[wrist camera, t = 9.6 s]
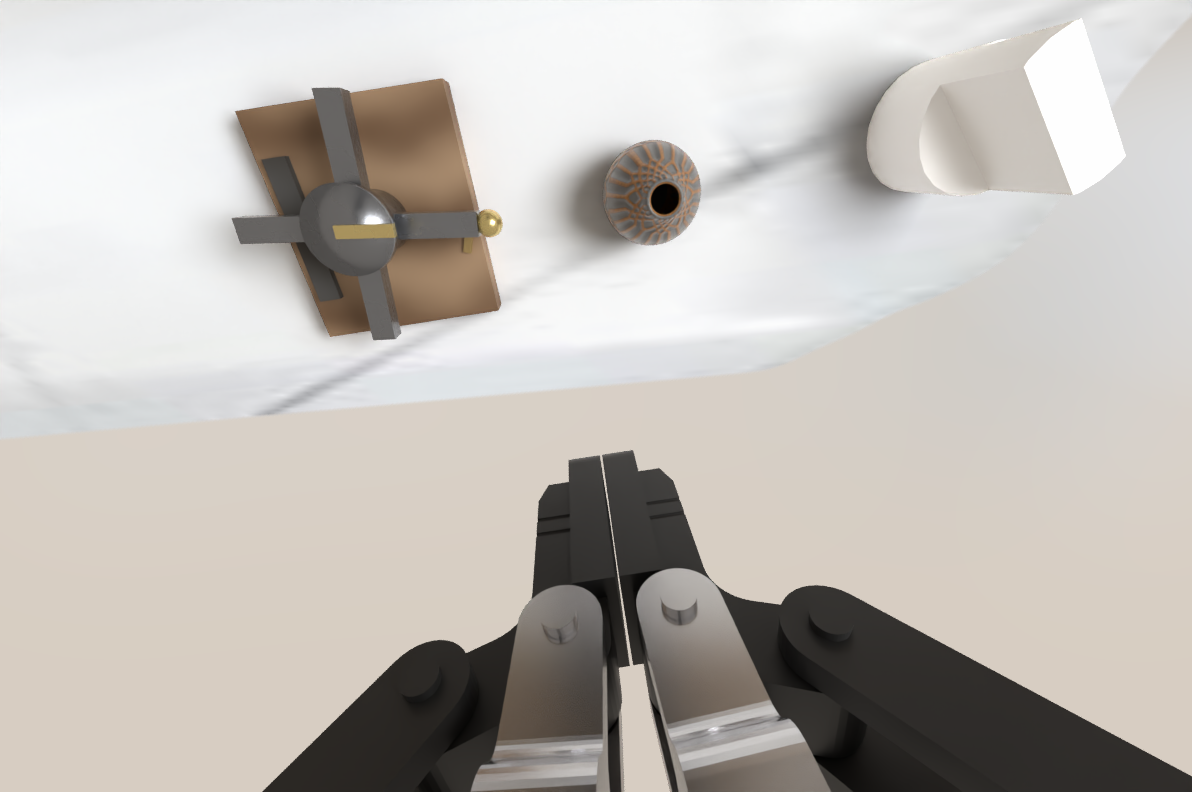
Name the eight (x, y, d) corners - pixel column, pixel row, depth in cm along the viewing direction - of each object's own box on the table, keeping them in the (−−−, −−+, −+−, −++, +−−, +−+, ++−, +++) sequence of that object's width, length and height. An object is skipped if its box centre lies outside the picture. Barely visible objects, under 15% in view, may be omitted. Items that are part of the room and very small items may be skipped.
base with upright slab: (1000, 132, 37) (1182, 118, 26) (897, 216, 39) (1025, 235, 28) (954, 26, 33) (1141, -40, 23) (845, 125, 36) (968, 107, 25)
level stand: (252, 114, 33) (228, 110, 30) (448, 83, 33) (439, 76, 30) (340, 329, 40) (326, 339, 38) (501, 303, 40) (497, 312, 38)
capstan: (301, 327, 37) (256, 355, 32) (230, 98, 30) (157, 83, 25) (516, 319, 38) (509, 345, 33) (495, 94, 31) (481, 79, 26)
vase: (632, 255, 39) (650, 278, 31) (581, 182, 36) (587, 187, 28) (702, 201, 37) (739, 210, 30) (654, 121, 35) (682, 108, 27)
